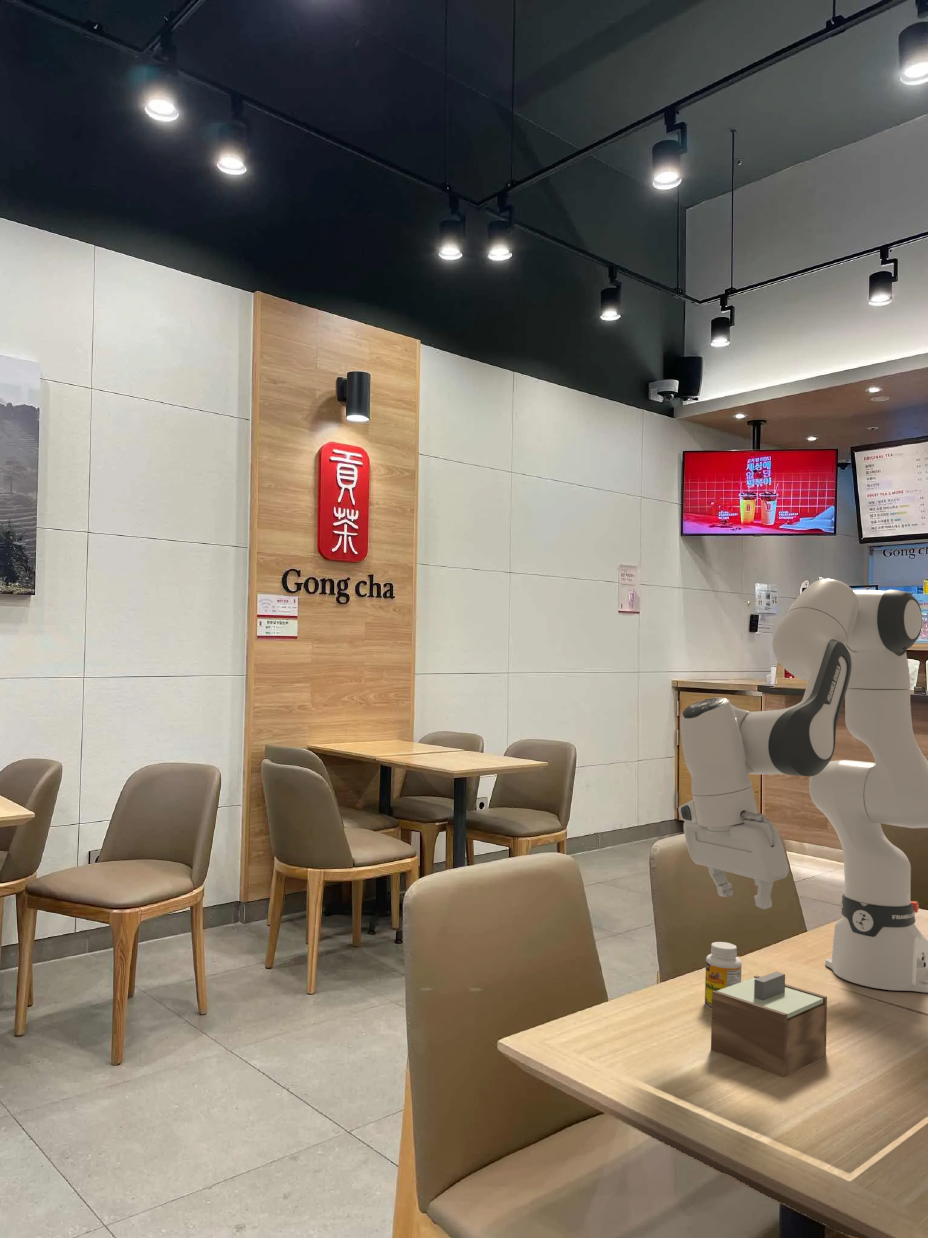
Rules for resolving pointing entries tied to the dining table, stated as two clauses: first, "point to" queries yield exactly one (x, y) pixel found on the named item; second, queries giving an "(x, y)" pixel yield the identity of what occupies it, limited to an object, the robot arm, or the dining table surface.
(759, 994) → the lid
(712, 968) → the supplement bottle
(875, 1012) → the dining table surface
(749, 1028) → the walnut box
